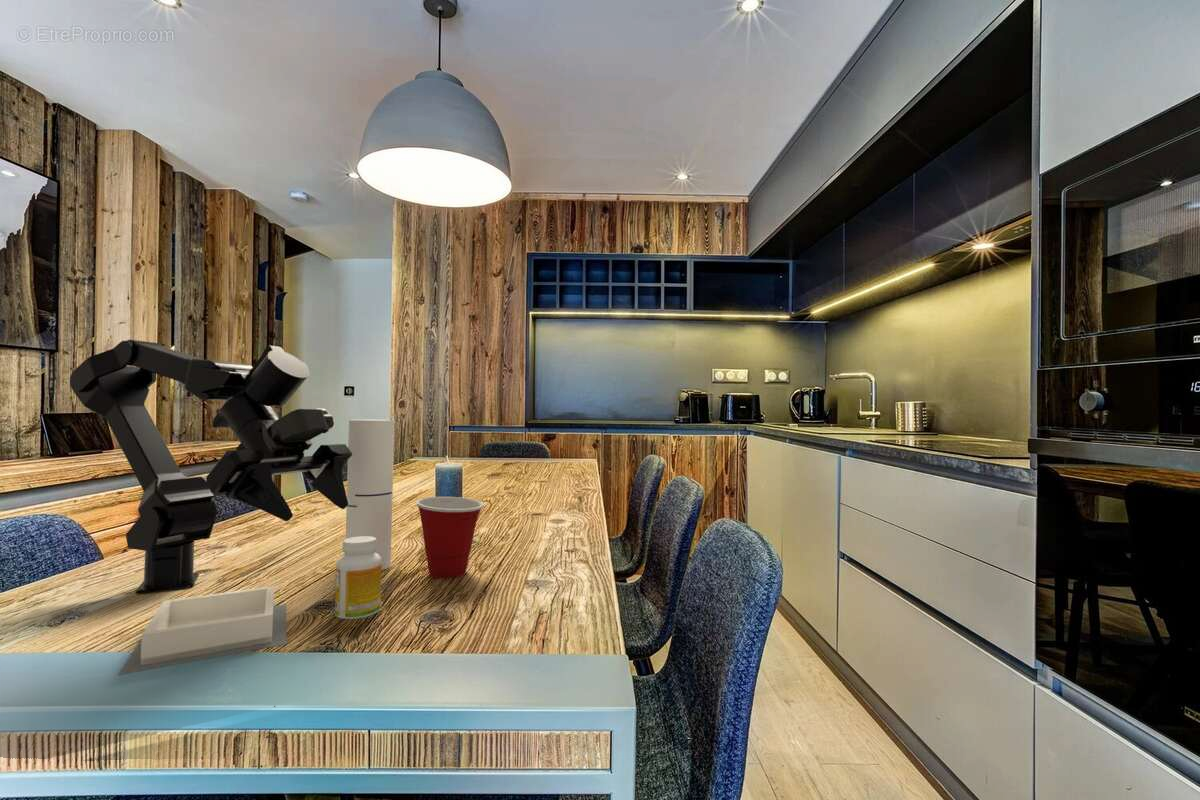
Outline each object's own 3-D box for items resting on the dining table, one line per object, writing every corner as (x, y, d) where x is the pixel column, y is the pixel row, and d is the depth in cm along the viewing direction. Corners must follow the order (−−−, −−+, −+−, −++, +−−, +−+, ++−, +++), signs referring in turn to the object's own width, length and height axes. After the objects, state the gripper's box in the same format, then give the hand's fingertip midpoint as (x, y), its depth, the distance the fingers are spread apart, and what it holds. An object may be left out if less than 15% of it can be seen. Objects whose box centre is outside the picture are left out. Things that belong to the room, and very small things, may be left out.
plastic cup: (464, 586, 80) (466, 507, 80) (400, 581, 82) (402, 504, 82) (493, 566, 90) (494, 496, 91) (435, 562, 92) (437, 494, 93)
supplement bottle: (389, 610, 70) (391, 536, 70) (358, 625, 65) (360, 545, 65) (357, 605, 71) (359, 533, 72) (324, 619, 66) (327, 541, 67)
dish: (162, 626, 62) (163, 600, 62) (273, 609, 68) (274, 586, 68) (140, 665, 53) (141, 634, 53) (271, 641, 58) (272, 614, 59)
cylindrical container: (379, 574, 85) (383, 420, 86) (336, 573, 85) (340, 419, 86) (397, 561, 92) (401, 420, 93) (357, 561, 93) (361, 419, 93)
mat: (149, 628, 63) (149, 624, 63) (286, 608, 70) (286, 604, 70) (117, 679, 51) (118, 674, 51) (286, 648, 58) (286, 643, 58)
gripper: (226, 384, 64) (294, 479, 60) (343, 391, 81) (401, 465, 78) (177, 447, 66) (240, 543, 62) (302, 441, 84) (357, 515, 80)
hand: (319, 512), depth 70 cm, fingers open, 9 cm apart
